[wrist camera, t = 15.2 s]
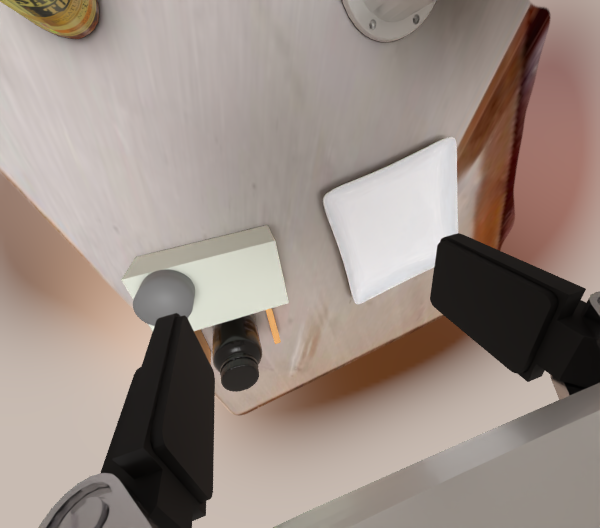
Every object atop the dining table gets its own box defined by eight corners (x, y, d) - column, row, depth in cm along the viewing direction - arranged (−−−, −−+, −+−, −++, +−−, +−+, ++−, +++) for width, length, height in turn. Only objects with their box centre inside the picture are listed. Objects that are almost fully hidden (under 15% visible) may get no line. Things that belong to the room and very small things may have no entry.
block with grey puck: (267, 224, 37) (280, 250, 29) (290, 326, 47) (304, 364, 39) (135, 257, 34) (111, 294, 26) (190, 357, 44) (184, 406, 36)
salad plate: (440, 132, 38) (459, 132, 35) (446, 248, 49) (460, 256, 46) (312, 190, 37) (320, 195, 34) (347, 296, 48) (356, 307, 45)
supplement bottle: (232, 341, 45) (236, 404, 35) (203, 320, 42) (199, 383, 31) (263, 319, 45) (276, 375, 34) (237, 295, 41) (243, 351, 31)
